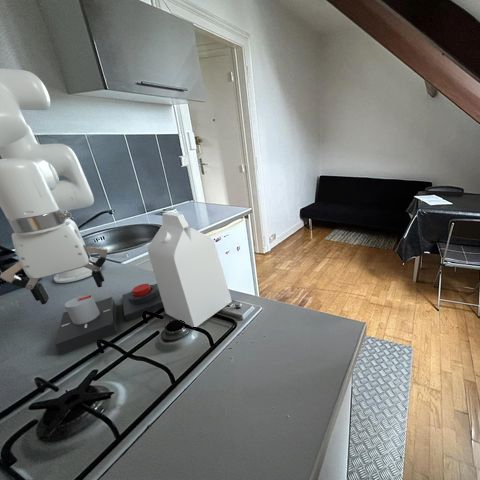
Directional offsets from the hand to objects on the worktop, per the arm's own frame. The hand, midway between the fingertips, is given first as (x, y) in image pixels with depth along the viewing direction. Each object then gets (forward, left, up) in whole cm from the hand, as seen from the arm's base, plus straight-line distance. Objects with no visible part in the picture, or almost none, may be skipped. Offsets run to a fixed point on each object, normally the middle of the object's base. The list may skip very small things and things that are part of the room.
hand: (74, 292), depth 60 cm
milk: (+10, +23, -11) cm, 27 cm away
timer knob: (0, 0, -7) cm, 7 cm away
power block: (-3, +12, -10) cm, 16 cm away
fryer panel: (0, 0, -10) cm, 10 cm away
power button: (-3, +12, -7) cm, 14 cm away
